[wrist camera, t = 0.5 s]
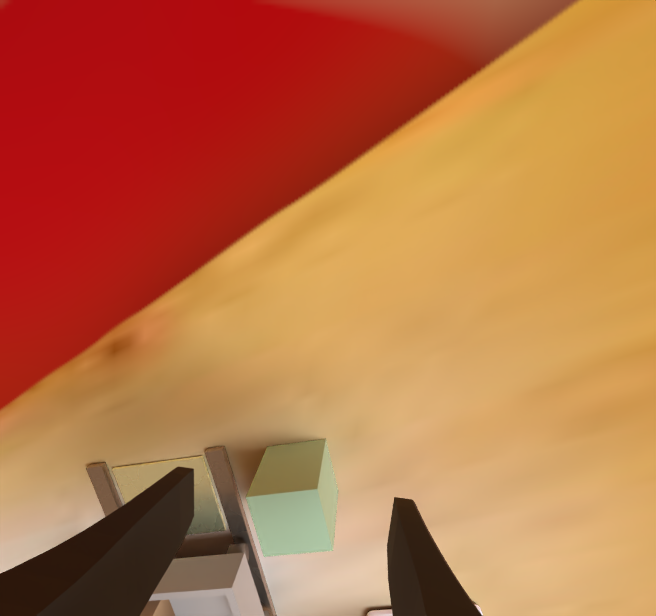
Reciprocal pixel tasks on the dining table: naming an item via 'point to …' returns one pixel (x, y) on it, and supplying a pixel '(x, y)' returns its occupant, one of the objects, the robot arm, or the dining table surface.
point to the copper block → (158, 608)
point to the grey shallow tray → (211, 585)
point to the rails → (205, 501)
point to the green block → (294, 499)
